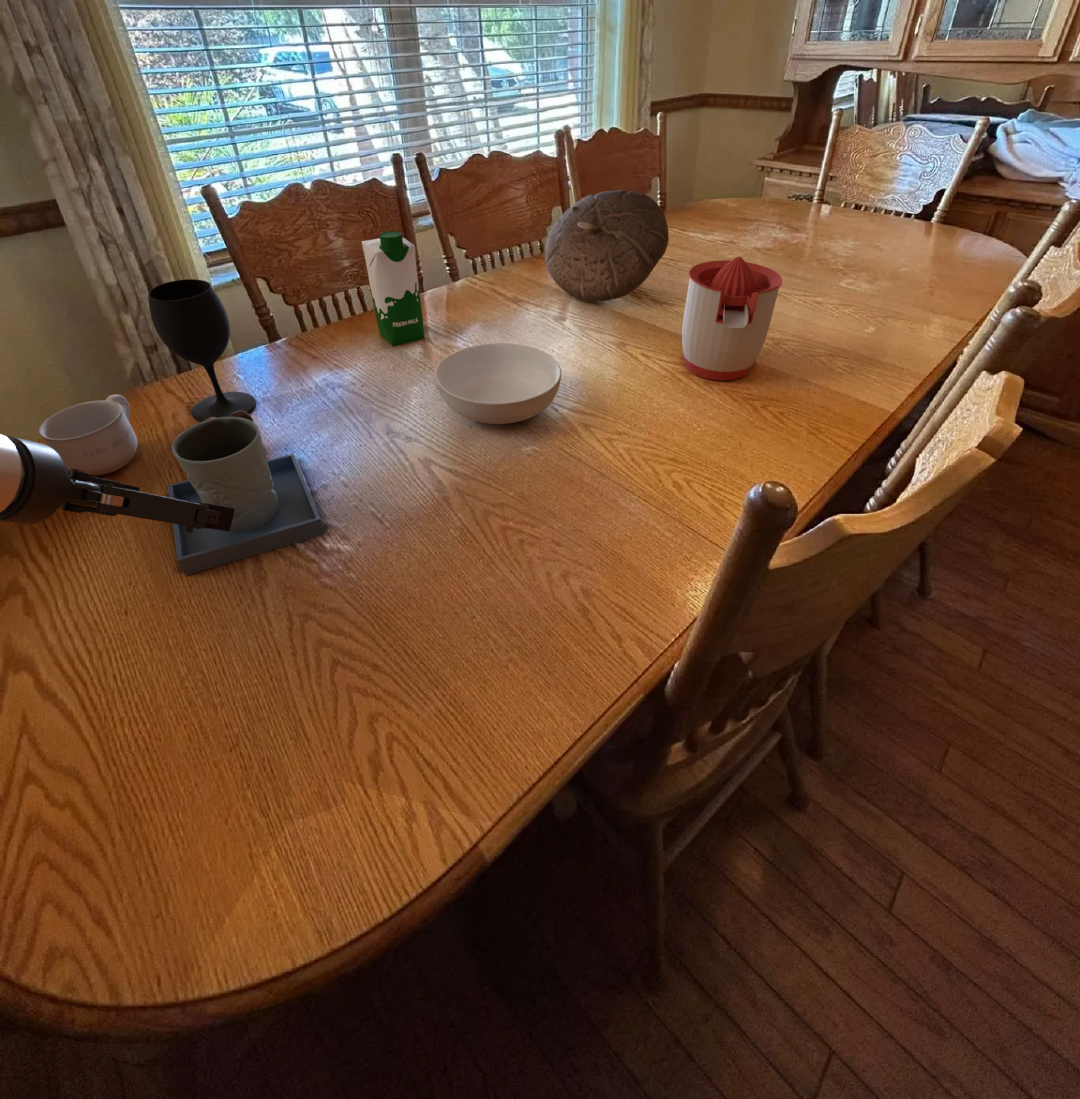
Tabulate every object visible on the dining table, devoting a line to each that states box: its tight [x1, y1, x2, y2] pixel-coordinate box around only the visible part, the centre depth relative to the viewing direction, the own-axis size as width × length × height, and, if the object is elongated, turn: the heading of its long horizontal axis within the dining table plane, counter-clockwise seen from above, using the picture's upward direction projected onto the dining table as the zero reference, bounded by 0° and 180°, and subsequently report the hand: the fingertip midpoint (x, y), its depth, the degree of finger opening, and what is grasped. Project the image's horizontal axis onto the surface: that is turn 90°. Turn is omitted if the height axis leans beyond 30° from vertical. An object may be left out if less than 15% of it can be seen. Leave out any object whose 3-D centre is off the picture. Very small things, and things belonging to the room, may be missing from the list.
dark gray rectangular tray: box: [167, 452, 326, 576], centre depth 85 cm, size 17×17×3 cm
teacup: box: [38, 394, 138, 476], centre depth 94 cm, size 14×11×8 cm
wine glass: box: [147, 278, 257, 423], centre depth 101 cm, size 10×10×20 cm
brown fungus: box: [544, 189, 670, 303], centre depth 142 cm, size 28×23×25 cm
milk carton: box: [361, 230, 426, 348], centre depth 122 cm, size 9×9×20 cm
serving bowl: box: [434, 342, 562, 425], centre depth 106 cm, size 21×21×7 cm
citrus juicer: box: [681, 256, 783, 381], centre depth 112 cm, size 16×17×20 cm
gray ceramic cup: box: [171, 417, 279, 532], centre depth 82 cm, size 10×10×12 cm
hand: (181, 508), depth 75 cm, fingers open, 13 cm apart
